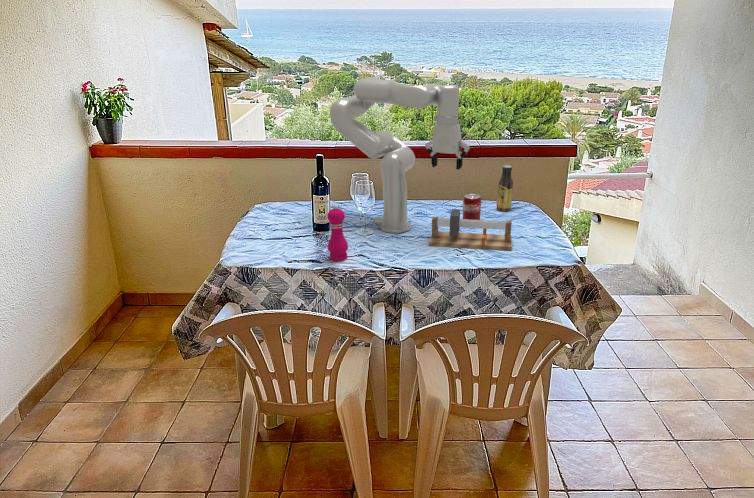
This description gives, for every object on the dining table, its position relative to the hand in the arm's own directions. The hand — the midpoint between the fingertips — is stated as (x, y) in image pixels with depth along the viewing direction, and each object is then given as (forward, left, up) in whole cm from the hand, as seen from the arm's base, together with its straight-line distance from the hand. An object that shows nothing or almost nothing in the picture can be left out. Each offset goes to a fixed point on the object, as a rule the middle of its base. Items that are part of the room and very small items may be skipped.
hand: (446, 167), depth 193 cm
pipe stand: (+10, -6, -27) cm, 29 cm away
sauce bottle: (+22, +36, -27) cm, 50 cm away
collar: (+4, -6, -24) cm, 25 cm away
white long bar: (+10, -6, -21) cm, 24 cm away
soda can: (+9, +15, -27) cm, 33 cm away
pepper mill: (-35, -29, -27) cm, 53 cm away
